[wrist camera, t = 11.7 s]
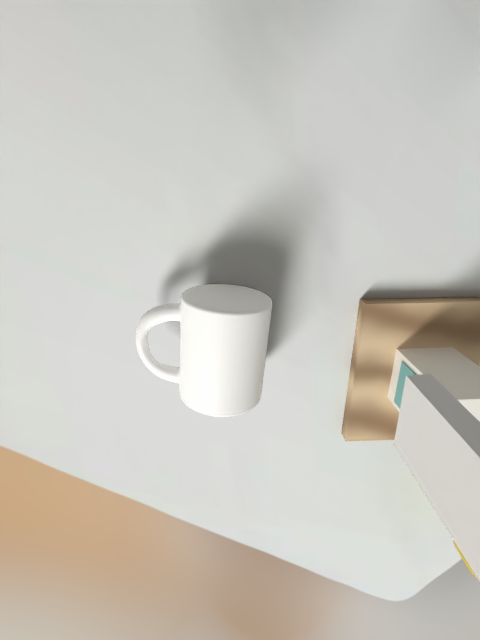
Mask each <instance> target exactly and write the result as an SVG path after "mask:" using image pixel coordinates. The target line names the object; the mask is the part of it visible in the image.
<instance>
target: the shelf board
mask: <svg viewBox="0 0 480 640" xmlns="http://www.w3.org/2000/svg"><path fill="white" fill-rule="evenodd" d="M441 347H453V348H454V349H456V350H457V351H459V352H460V353H461V354H463V355H464V356H465V357H467V358H468V359H470V360H471V361H472V362H474V363H475V364H477V365H478V366H479V367H480V297H454V298H398V299H360V302H359V310H358V317H357V324H356V331H355V339H354V346H353V353H352V360H351V368H350V375H349V382H348V390H347V397H346V404H345V411H344V419H343V426H342V435H343V437H344V439H345V441H370V440H394V439H395V434H396V428H397V423H398V417H399V412H398V410H397V409H396V408H395V406H394V405H393V404H392V402H391V401H390V400H389V399H388V392H389V387H390V381H391V376H392V370H393V365H394V360H395V354H396V349H408V348H441Z"/></svg>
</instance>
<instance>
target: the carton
mask: <svg viewBox="0 0 480 640" xmlns="http://www.w3.org/2000/svg"><path fill="white" fill-rule="evenodd" d="M422 374H431V375H432V376H433V377H434V378H435V379H436V380H437V381H438V382H439V383H440V384H441V385H442V386H444V387H445V388H446V389H447V390H448V391H449V392H450V393H451V394H452V395H453V396H454V397H455V398H456V399H457V400H458V401H459V402H460V403H461V404H462V405H463V406H464V407H465V408H466V409H467V410H468V411H469V412H470V413H471V414H472V415H473V416H474V417H475V418H476V419H477V420H478V421H479V422H480V367H479V366H478V365H477V364H475V363H474V362H472V361H471V360H470V359H468V358H467V357H465V356H464V355H463V354H461V353H460V352H459V351H457V350H456V349H454V348H453V347H441V348H408V349H396V354H395V360H394V365H393V370H392V376H391V381H390V387H389V392H388V399H389V400H390V401H391V402H392V404H393V405H394V406H395V408H396V409H397V410H398V412H400V406H401V401H402V395H403V390H404V384H405V378H406V376H407V375H422Z"/></svg>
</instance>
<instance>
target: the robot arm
mask: <svg viewBox="0 0 480 640" xmlns="http://www.w3.org/2000/svg"><path fill="white" fill-rule="evenodd" d="M394 446H395V447H396V449H397V451H398V452H399V454H400V455H401V457H402V459H403V460H404V462H405V463H406V465H407V467H408V468H409V470H410V471H411V473H412V475H413V476H414V478H415V479H416V481H417V483H418V484H419V486H420V487H421V489H422V491H423V492H424V494H425V495H426V497H427V499H428V500H429V502H430V503H431V505H432V507H433V508H434V510H435V511H436V513H437V515H438V516H439V518H440V519H441V521H442V522H443V524H444V526H445V527H446V529H447V530H448V532H449V534H450V535H451V537H452V538H453V540H454V542H455V543H456V545H457V546H458V548H459V550H460V551H461V553H462V554H463V556H464V558H465V559H466V561H467V562H468V564H469V566H470V567H471V569H472V570H473V572H474V574H475V575H476V577H477V578H478V580H479V581H480V422H479V421H478V420H477V419H476V418H475V417H474V416H473V415H472V414H471V413H470V412H469V411H468V410H467V409H466V408H465V407H464V406H463V405H462V404H461V403H460V402H459V401H458V400H457V399H456V398H455V397H454V396H453V395H452V394H451V393H450V392H449V391H448V390H447V389H446V388H445V387H444V386H442V385H441V384H440V383H439V382H438V381H437V380H436V379H435V378H434V377H433V376H432V375H431V374H422V375H407V376H406V378H405V384H404V390H403V395H402V401H401V406H400V412H399V417H398V423H397V428H396V434H395V439H394Z"/></svg>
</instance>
